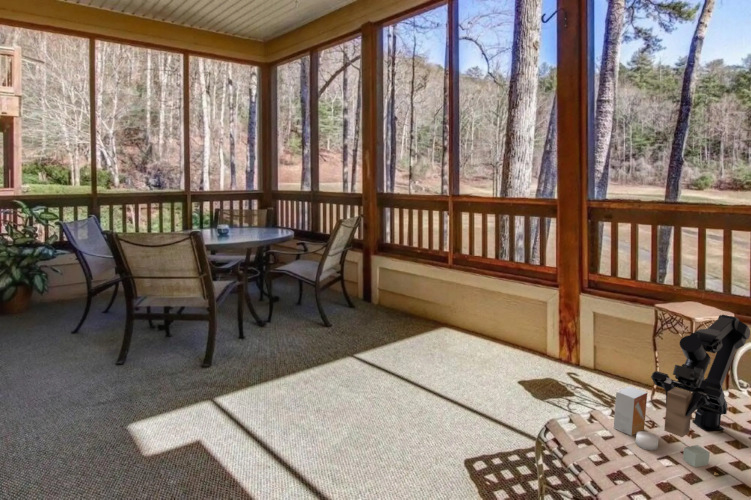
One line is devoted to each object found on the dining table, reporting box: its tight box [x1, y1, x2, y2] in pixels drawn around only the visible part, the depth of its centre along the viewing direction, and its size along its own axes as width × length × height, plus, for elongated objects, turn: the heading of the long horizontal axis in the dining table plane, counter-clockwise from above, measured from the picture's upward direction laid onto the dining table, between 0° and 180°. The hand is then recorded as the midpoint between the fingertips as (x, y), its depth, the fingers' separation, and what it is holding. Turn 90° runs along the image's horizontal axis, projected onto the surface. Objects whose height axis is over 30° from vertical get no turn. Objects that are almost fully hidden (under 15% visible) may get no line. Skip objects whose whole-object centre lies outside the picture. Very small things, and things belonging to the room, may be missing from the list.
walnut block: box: [663, 387, 693, 438], centre depth 147 cm, size 5×5×12 cm
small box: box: [613, 385, 648, 436], centre depth 161 cm, size 8×6×13 cm
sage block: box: [682, 444, 710, 468], centre depth 143 cm, size 5×4×4 cm
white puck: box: [635, 430, 659, 451], centre depth 152 cm, size 6×6×3 cm
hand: (676, 412), depth 146 cm, fingers closed on walnut block, 5 cm apart
